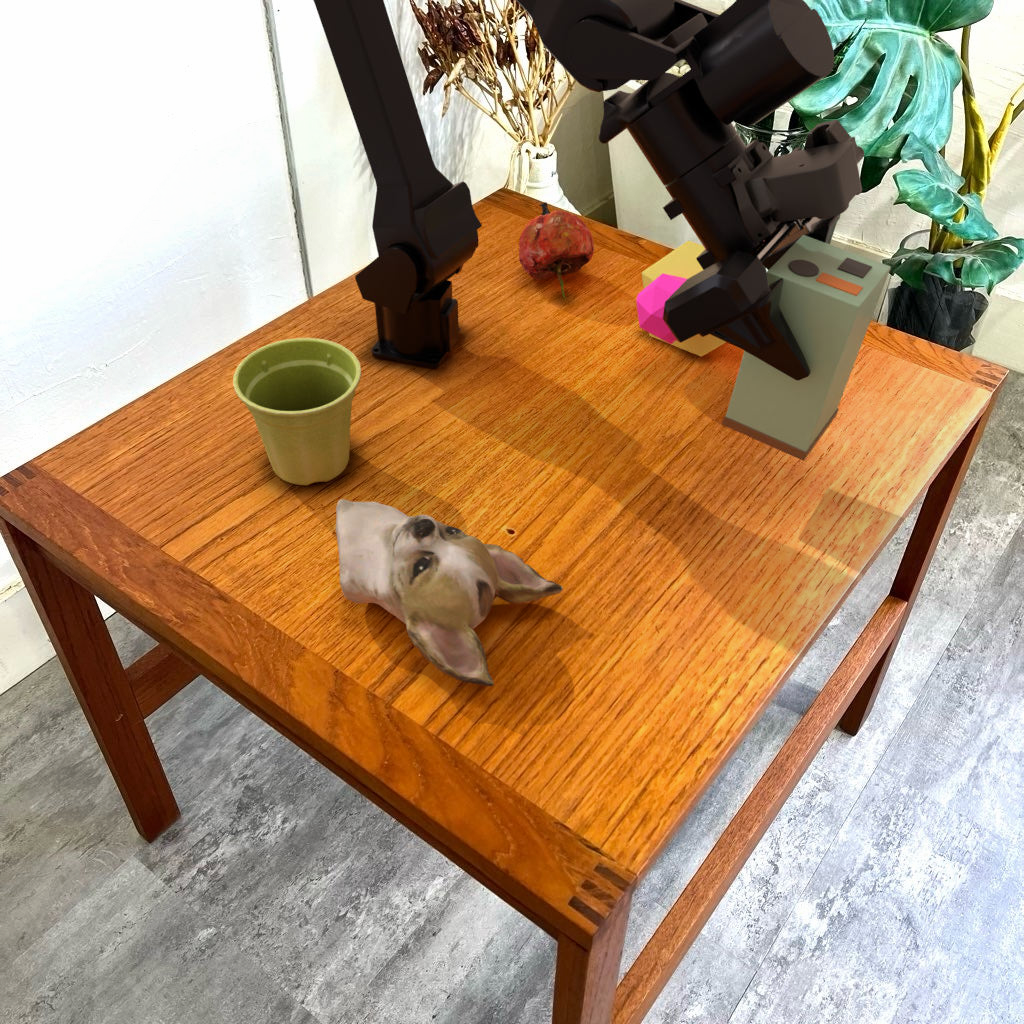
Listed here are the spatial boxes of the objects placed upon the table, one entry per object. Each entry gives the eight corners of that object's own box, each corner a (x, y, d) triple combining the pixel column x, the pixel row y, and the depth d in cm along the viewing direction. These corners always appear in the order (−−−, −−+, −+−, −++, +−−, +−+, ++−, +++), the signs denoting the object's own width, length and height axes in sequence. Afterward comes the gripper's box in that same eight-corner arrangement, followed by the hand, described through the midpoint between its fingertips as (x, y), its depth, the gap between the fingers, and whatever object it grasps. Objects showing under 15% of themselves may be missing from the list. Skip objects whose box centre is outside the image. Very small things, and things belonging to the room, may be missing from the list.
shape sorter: (720, 424, 77) (764, 269, 67) (756, 382, 81) (802, 231, 72) (803, 461, 74) (860, 306, 65) (836, 416, 78) (893, 264, 69)
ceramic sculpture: (383, 437, 71) (576, 523, 66) (387, 524, 77) (563, 609, 72) (284, 531, 64) (490, 635, 59) (297, 618, 70) (485, 719, 65)
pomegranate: (598, 307, 103) (587, 214, 105) (601, 280, 96) (589, 180, 98) (525, 315, 104) (515, 222, 105) (522, 289, 96) (511, 189, 98)
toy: (794, 333, 98) (784, 222, 95) (712, 373, 84) (698, 243, 81) (698, 340, 104) (686, 235, 101) (607, 378, 90) (591, 258, 87)
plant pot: (392, 444, 84) (384, 356, 78) (330, 515, 78) (316, 426, 72) (295, 413, 87) (280, 326, 81) (228, 480, 81) (206, 391, 75)
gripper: (738, 149, 57) (882, 378, 60) (851, 48, 68) (966, 245, 72) (602, 239, 65) (735, 436, 68) (723, 135, 76) (831, 308, 80)
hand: (823, 351), depth 72 cm, fingers closed on shape sorter, 7 cm apart
